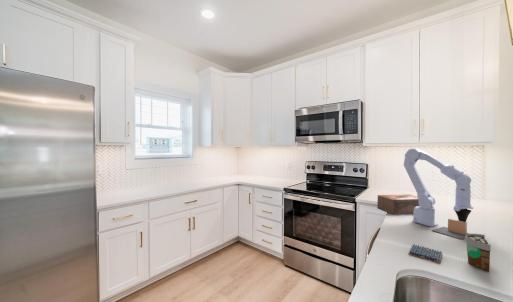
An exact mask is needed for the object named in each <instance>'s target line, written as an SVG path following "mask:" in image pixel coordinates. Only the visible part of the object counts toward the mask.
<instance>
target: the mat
mask: <svg viewBox="0 0 513 302" xmlns="http://www.w3.org/2000/svg"><path fill="white" fill-rule="evenodd" d="M431 232H433V233H438V234H440V235H444V236H448V237H451V238H454V239H458V240H461V241H462V240H464V239H465V236H466V235H463V234H460V233H456V232H453V231H449V230H448V226H447V227H446V226H442V227H439V228H438V227H437V228H435V229H432V230H431ZM467 234H470V232H469V233H468V232H467Z"/></svg>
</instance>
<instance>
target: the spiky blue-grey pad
mask: <svg viewBox="0 0 513 302" xmlns="http://www.w3.org/2000/svg"><path fill="white" fill-rule="evenodd" d="M407 254H408V255H410V256H413V257H416V258H421V259H424V260H427V261H430V262H432V263H433V262H434V263H438V264H442V262H441V261H442V260H443V251H441V250H440V251H439V250H436V249H434V248H430V247H426V246H422V245H420V244H415V243H413V244H412V245H411V248H410V250H409V251H408V253H407Z"/></svg>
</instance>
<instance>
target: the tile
mask: <svg viewBox="0 0 513 302" xmlns="http://www.w3.org/2000/svg"><path fill="white" fill-rule="evenodd" d="M447 228H448V230H449V231H453V232H456V233H460V234H463V235H467V233H468V232H467V231H468V222H467V221H466V222H463V221H459V220H458V219H453V218H448V219H447Z"/></svg>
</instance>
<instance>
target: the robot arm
mask: <svg viewBox="0 0 513 302" xmlns="http://www.w3.org/2000/svg"><path fill="white" fill-rule="evenodd" d="M418 160H420V161H426V162H427V163H428V164H431V165H433V166H434V167H436V168H438V169H439V171H440V173H441V174H442V175H444V176H445V177H447V178H449V179H450V180H453V181H455V184H456V186H455V198H454V200H455V204H454V206H453V211H454V212H455V214H456V216H457V220H459V221H463V222H467V220H468V217H469V216H470V214H471V212H472V209H474V207H473V206H472V204H471V197H472V195H471V193H472V192H471V191H472V190H471V182H472V178H471V177H470V175H468V174H467V173H465V172H464V171H460V170H459V169H457V168H456V167H455V166H454V164H452V165H451V164H445V163H443V162H441V161H440V160H438V158H435V157H434V156H432V155H431V154H429V153H427V152H425V151H424V150H421V149H420V148H409V149H408V150H407V151H406V152H405V154H404V160H403V167H404V168H405V171H406V173H407V175H408V177H409V179H410V182H411V184H412V185H413V187H414V189H415V192H416V194H417V195H416V196H417V197H418V199H419V205H420V206H419V207H418V206H416V207H415V208H414V212H413V214H412V215H413V216H412V217H413V220H412V222H413V223H417V224H420V225H424V226H428V227H435V226H437V225H439V223H436V222H435V219H436V208H435V207H434V205H435V204H436V200H435V198H434V197H433V196H432V195H431V194H430V192H429V191H428V190H427V188H426V186H425V183H424V182H423V180H422V178H421V176H420V174H419V172H418V170H417V168H416V163H417V162H418Z"/></svg>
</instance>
